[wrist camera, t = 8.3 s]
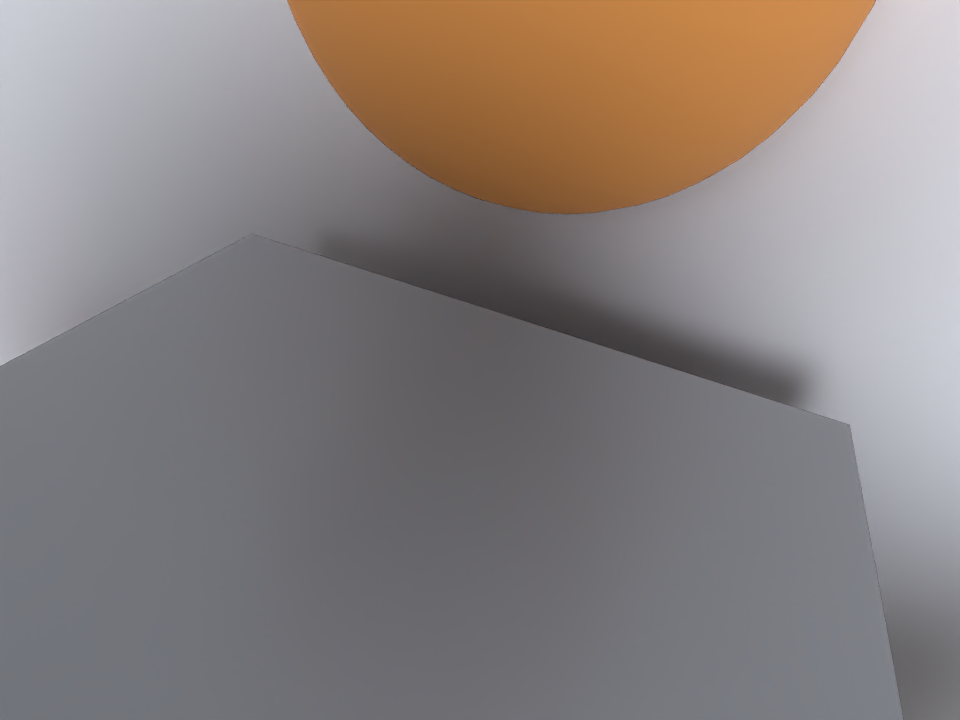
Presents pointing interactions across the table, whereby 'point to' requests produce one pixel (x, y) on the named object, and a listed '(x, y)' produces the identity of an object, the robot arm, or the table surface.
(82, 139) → the table surface
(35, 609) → the grey matte cube
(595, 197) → the ball
